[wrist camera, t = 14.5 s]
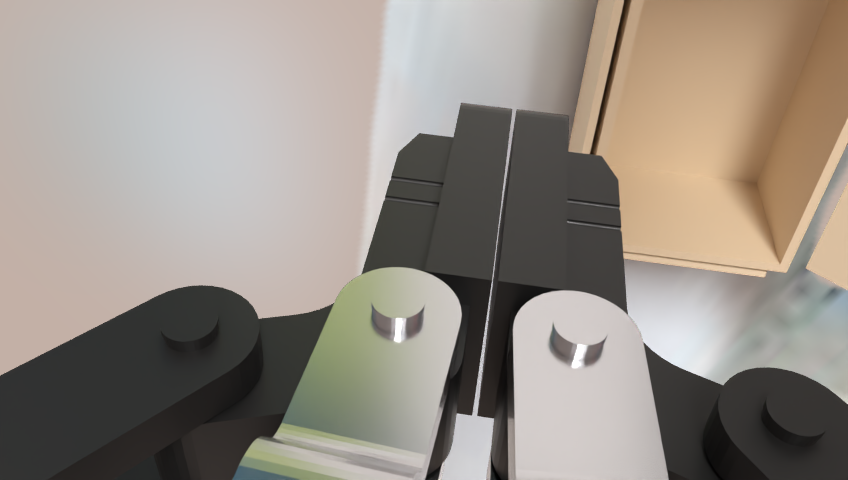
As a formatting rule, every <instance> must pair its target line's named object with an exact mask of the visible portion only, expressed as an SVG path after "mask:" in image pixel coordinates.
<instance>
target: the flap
mask: <svg viewBox="0 0 848 480" xmlns="http://www.w3.org/2000/svg"><path fill="white" fill-rule="evenodd" d="M806 269H808V270H810V271H812V272H814V273H816V274H818V275H820V276H821V277H823V278H825V279H827V280H829V281H831V282H833V283H835V284H837V285H839V286H841V287H843V288H845V289H847V290H848V183H847V185H846V187H845V189H844V191H843V193H842V195H841V197H840V199H839V201H838V204H837V205H836V207H835V209H834V212H833V214H832V216H831V218H830V220H829V222H828V224H827V226H826V228H825V230H824V232H823V234H822V236H821V238H820V240H819V242H818V244H817V246H816V248H815V250H814V252H813V254H812V256H811V258H810V260H809V262H808V265H807V267H806Z"/></svg>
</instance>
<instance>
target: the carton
mask: <svg viewBox="0 0 848 480" xmlns="http://www.w3.org/2000/svg"><path fill="white" fill-rule="evenodd" d="M847 143H848V0H598V4H597V9H596V14H595V19H594V23H593V28H592V33H591V38H590V43H589V48H588V53H587V58H586V63H585V68H584V73H583V78H582V83H581V88H580V93H579V98H578V103H577V108H576V113H575V118H574V122H573V127H572V132H571V137H570V142H569V147H568V152H575V153H584V154H592V155H600V156H602V157H603V158H604V160H605V161H606V163H607V164H608V166H609V167H610V169H611V170H612V171H613V173H614V174H615V176H616V177H617V179H618V182H619V197H620V208H619V210H620V212H621V231H622V242H623V257H624V259H630V260H637V261H645V262H652V263H660V264H667V265H675V266H682V267H690V268H697V269H705V270H712V271H720V272H727V273H735V274H742V275H750V276H757V277H764V278H765V275H766V273H767V271H766V270H769V271H776V272H784V273H787V270H788V268H789V266H790V264H791V262H792V260H793V258H794V256H795V253H796V251H797V249H798V247H799V245H800V243H801V241H802V239H803V237H804V234H805V232H806V230H807V228H808V226H809V224H810V222H811V220H812V217H813V215H814V213H815V211H816V209H817V207H818V205H819V203H820V200H821V198H822V196H823V194H824V192H825V190H826V188H827V186H828V183H829V181H830V179H831V177H832V175H833V173H834V171H835V169H836V166H837V164H838V162H839V160H840V158H841V156H842V154H843V152H844V150H845V147H846V145H847Z"/></svg>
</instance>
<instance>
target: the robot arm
mask: <svg viewBox="0 0 848 480" xmlns="http://www.w3.org/2000/svg"><path fill="white" fill-rule="evenodd" d="M511 115H512V109H508V108H500V107H491V106H483V105H475V104H467V103H461V106H460V110H459V115H458V119H457V124H456V129H455V133H454V138H453V137H445V136H437V135H429V134H421V133H420V134H418V135H417V136H416V137H415V138H414V139H413V140H412V141H411V142H410V143H408V144H407V145H406V146H405V147H404V148H403V149H402V150H401V151H399V153H398V156H397V159H396V163H395V166H394V169H393V173H392V176H391V181H390V182H389V186H388V189H387V192H386V196H385V201H384V202H383V206H382V209H381V212H380V215H379V219H378V222H377V225H376V229H375V232H374V235H373V239H372V242H371V245H370V248H369V252H368V255H367V258H366V262H365V265H364V268H363V271H362V274H361V275H360V276H358V277H356V278H354V279H353V280H352V281H350V282H349V283H348V284H347V285H346V286H345V287H344V288H343V289H342V290H341V291H340V293H339V295H338V296H337V298H336V301H335V303H333V304H331V305H330V306H327V307H325V308H322V309H320V310H316V311H313V312H309V313H304V314H298V315H290V316H280V317H272V318H262V319H258V316H257V313H256V312H255V310H254V308H253V306H252V305H251V304H250V303H249V302H248V301H247V300H246V299H244V298H243V297H242V296H240V295H239V294H237V293H235V292H233V291H230V290H227V289H224V288H220V287H214V286H188V287H183V288H178V289H175V290H171V291H168V292H166V293H163V294H161V295H159V296H156V297H154V298H152V299H150V300H149V301H147V302H145V303H143V304H141V305H139V306H137V307H135V308H133V309H131V310H129V311H127V312H125V313H123V314H121V315H119V316H117V317H115V318H113V319H111V320H109V321H107V322H105V323H103V324H101V325H99V326H97V327H95V328H93V329H91V330H89V331H87V332H86V333H83V334H81V335H79V336H77V337H75V338H74V339H72V340H70V341H68V342H66V343H64V344H62V345H60V346H58V347H56V348H54V349H52V350H50V351H48V352H46V353H44V354H42V355H40V356H38V357H36V358H34V359H32V360H30V361H28V362H26V363H24V364H22V365H20V366H18V367H16V368H14V369H12V370H10V371H9V372H7V373H4V374H3V375H1V376H0V480H441V478H442V474H443V469H444V462H445V459H446V458H447V456H448V454H449V452H450V450H451V446H452V442H453V435H454V428H455V421H456V414H457V413H459V414H466V415H472V412H473V405H474V399H475V392H476V385H477V378H478V371H479V364H480V358H481V351H482V344H483V337H484V330H485V324H486V317H487V310H488V303H489V296H490V289H491V283H492V275H493V266H494V258H495V250H496V241H497V233H498V224H499V216H500V208H501V199H502V191H503V183H504V174H505V166H506V157H507V149H508V141H509V132H510V124H511ZM568 134H569V117H568V116H567V115H559V114H551V113H543V112H534V111H526V110H518V109H517V111H516V117H515V124H514V130H513V137H512V144H511V151H510V158H509V165H508V171H507V178H506V185H505V192H504V199H503V206H502V213H501V221H500V228H499V236H498V244H497V253H496V261H495V270H494V278H493V287H492V296H491V304H490V313H489V321H488V330H487V338H486V347H485V355H484V364H483V372H482V381H481V389H480V398H479V407H478V415H477V416H481V417H488V418H494V425H493V436H492V446H491V452H490V457H489V463H488V469H487V477H486V480H848V404H846V403H845V402H844V401H843V400H842V399H841V398H839V397H838V396H837V395H836V394H834V393H833V392H832V391H830V390H829V389H828V388H826V387H825V386H823V385H821V384H820V383H818V382H816V381H814V380H812V379H810V378H808V377H806V376H804V375H801V374H798V373H795V372H792V371H788V370H783V369H778V368H754V369H748V370H745V371H742V372H740V373H737V374H736V375H734V376H733V377H731V378H730V379H729V380H728V381H727V382H726V383H725V384H724V386H723V385H721V384H718V383H716V382H713V381H711V380H708V379H706V378H703V377H701V376H698V375H696V374H693V373H691V372H688V371H686V370H683V369H681V368H679V367H677V366H675V365H673V364H671V363H669V362H668V361H666V360H664V359H663V358H661V357H660V356H659V355H657V354H656V353H655V352H653V351H652V350H651V349H650V348H649V347H648V346H647V345H646V344H645V343H644V342H643V339H642V336H641V333H640V331H639V329H638V327H637V325H636V324H635V323H634V321H633V320H632V319H631V318H630V317H629V316H628V312H627V302H626V287H625V272H624V257H623V242H622V231H621V212H620V210H619V208H620V197H619V182H618V179H617V177H616V176H615V174H614V173H613V171H612V170H611V169H610V167H609V166H608V164H607V163H606V161H605V160H604V158H603V157H602V156H600V155H592V154H584V153H575V152H568Z"/></svg>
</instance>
